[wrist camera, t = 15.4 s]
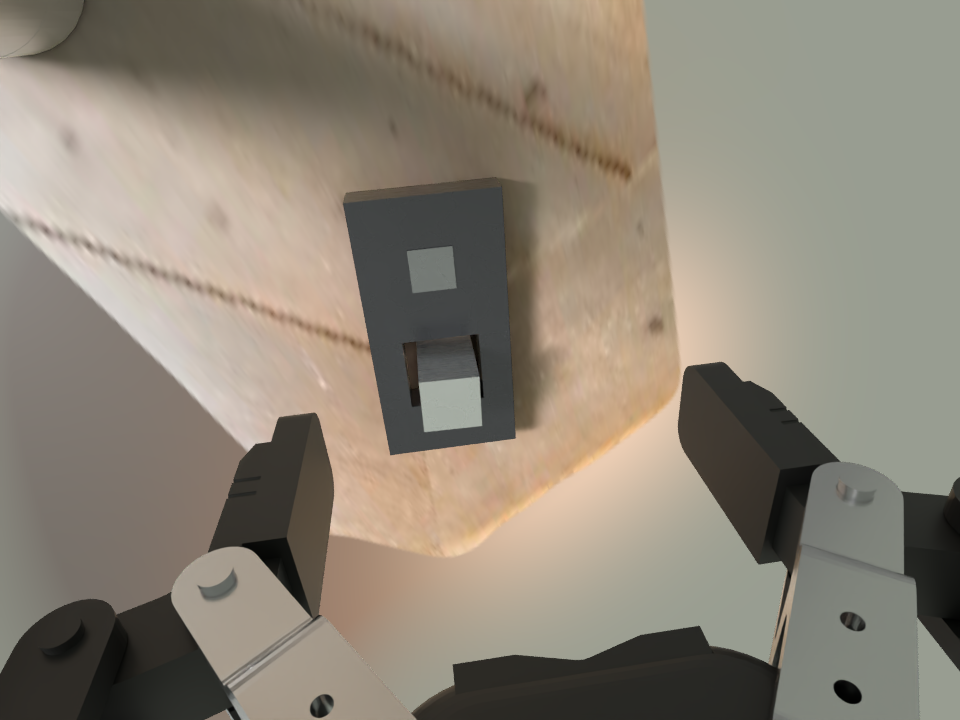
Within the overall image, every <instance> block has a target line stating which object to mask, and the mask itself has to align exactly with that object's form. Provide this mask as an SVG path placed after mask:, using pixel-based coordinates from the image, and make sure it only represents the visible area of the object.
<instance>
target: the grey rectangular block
mask: <svg viewBox="0 0 960 720" xmlns="http://www.w3.org/2000/svg"><path fill="white" fill-rule="evenodd" d="M416 346H417V363H418V380H419V390H420V399H421V407H422V416H423V425H424V432H431V431H440V430H449V429H459V428H468V427H477V426H482V414H481V396H480V377H479V372H478V368H477V364H476V359H475V355H474V350H473V346H472V342H471V337H470V335H466V336H457V337H449V338H441V339H433V340H424V341H416Z"/></svg>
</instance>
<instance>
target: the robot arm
mask: <svg viewBox="0 0 960 720" xmlns="http://www.w3.org/2000/svg"><path fill="white" fill-rule="evenodd" d="M83 4H84V0H0V58H8V57H16V56H25V55H34V54H38V53H41V52H44V51H47V50H50V49H52V48H54V47H55V46H56V45H58V44H59V43H61V42H62V41H64V40H65V39H66V38H67V37H68V35H69V34H70V33H71V32H72V31H73V29H74V28H75V27H76V24H77V22H78V20H79V18H80V15H81V13H82V10H83ZM678 433H679V439H680V443H681V445H682V448H683V450H684V452H685V453H686V455H687V456H688V458H689V460H690V461H691V462H692V464H693V466H694V467H695V469H696V470H697V472H698V473H699V475H700V476H701V478H702V479H703V481H704V482H705V484H706V485H707V487H708V488H709V490H710V492H711V493H712V495H713V496H714V498H715V499H716V501H717V502H718V504H719V505H720V507H721V508H722V510H723V511H724V512H725V514H726V516H727V517H728V519H729V520H730V522H731V523H732V525H733V526H734V528H735V529H736V531H737V532H738V534H739V536H740V537H741V539H742V540H743V542H744V543H745V545H746V546H747V548H748V549H749V551H750V552H751V554H752V555H753V557H754V558H755V560H756V561H757V563H758V564H765V563H772V562H778V561H782V562H783V564H784V565H785V566H786V568H787V572H786V576H785V580H784V584H783V590H782V595H781V601H780V605H779V611H778V616H777V621H776V626H775V631H774V637H773V642H772V647H771V653H770V657H769V662H768V663H766V662H764V661H762V660H759V659H757V658H755V657H752V656H750V655H747V654H744V653H741V652H737V651H734V650H731V649H726V648H721V647H714V646H709V644H708V642H707V640H706V638H705V636H704V634H703V632H702V630H701V628H700V626H696V627H689V628H683V629H677V630H671V631H664V632H657V633H651V634H645V635H640V636H637V637H635V638H633V639H630V640H628V641H626V642H624V643H622V644H619V645H617V646H615V647H612V648H610V649H608V650H606V651H604V652H601V653H599V654H597V655H594V656H592V657H590V658H587V659H585V660H568V659H557V658H545V657H534V656H522V655H511V656H504V657H499V658H492V659H486V660H479V661H473V662H466V663H460V664H453V672H454V682H455V685H454V686H451V687H449V688H447V689H445V690H443V691H441V692H439V693H438V694H436V695H434V696H433V697H431V698H429V699H428V700H427V701H425V702H424V703H423V704H421V705H420V706H419V707H418V708H416V709H415V710H414V711H413V712H412V713H410V711H409V710H408V709H407V708H406V707H405V706H404V705H403V704H402V703H401V701H400V700H399V699H398V698H397V697H396V696H395V695H394V694H393V692H392V691H391V690H390V689H389V688H388V687H387V686H386V685H385V683H384V682H383V681H382V680H381V679H380V678H379V677H378V676H377V675H376V673H375V672H374V671H373V670H372V669H371V668H370V667H369V666H368V664H366V662H365V661H364V660H363V659H362V658H361V657H360V655H359V654H358V653H357V652H356V651H355V650H354V649H353V648H352V646H351V645H350V644H349V643H348V642H347V641H346V640H345V639H344V638H343V636H342V635H341V634H340V633H339V632H338V631H337V630H336V629H335V628H334V626H333V625H332V624H331V623H330V622H329V621H328V620H327V619H326V618H325V617H323V616H321V615H319V607H320V599H321V592H322V584H323V576H324V568H325V561H326V553H327V545H328V538H329V531H330V523H331V515H332V508H333V500H334V482H333V474H332V469H331V465H330V461H329V457H328V453H327V449H326V445H325V441H324V437H323V433H322V429H321V425H320V421H319V418H318V416H317V414H316V413H308V414H300V415H292V416H284V417H279V419H278V421H277V424H276V427H275V431H274V434H273V438H272V441H271V442H267V443H260V444H255V445H254V446H253V448H252V449H251V450H250V451H249V452H248V453H247V454H246V455H245V456H244V457H243V459H242V460H241V461H240V462H239V465H238V468H237V471H236V474H235V477H234V483H232V485H231V488H230V491H229V494H228V499H226V502H225V505H224V508H223V511H222V514H221V517H220V519H219V522H218V525H217V528H216V531H215V534H214V536H213V539H212V542H211V545H210V548H209V551H208V553H207V554H205V555H203V556H201V557H200V558H198V559H196V560H195V561H193V562H192V563H191V564H190V565H189V566H187V567H186V568H185V569H184V570H183V571H182V573H181V574H180V575H179V577H178V578H177V580H176V582H175V583H174V586H173V588H172V592H170V593H168V594H167V595H165V596H162V597H160V598H158V599H155V600H153V601H150V602H148V603H146V604H143V605H140V606H138V607H135V608H132V609H130V610H127V611H125V612H123V613H120V614H117V615H116V613H115V612H114V610H113V608H112V607H111V605H109V604H108V603H107V602H105V601H102V600H97V599H87V600H80V601H76V602H73V603H70V604H67V605H64V606H62V607H60V608H58V609H56V610H54V611H52V612H51V613H49V614H47V615H46V616H44V617H43V618H42V619H40V620H39V621H38V622H36V623H35V624H34V625H33V626H32V627H31V628H30V629H29V630H28V631H27V632H26V633H25V634H24V635H23V636H22V637H21V639H20V640H19V641H18V643H17V645H16V646H15V648H14V649H13V651H12V653H11V655H10V657H9V659H8V660H7V663H6V664H5V666H4V668H3V670H2V672H1V673H0V720H205V719H207V718H209V717H211V716H213V715H215V714H218V713H220V712H222V711H224V710H226V711H227V713H228V715H229V717H230V718H231V720H920V714H919V713H920V711H919V672H918V636H917V635H918V634H917V617H918V619H919V620H920V621H921V623H922V624H923V625H924V626H925V628H926V629H927V630H928V631H929V633H930V634H931V635H932V636H933V638H934V639H935V640H936V641H937V643H938V644H939V645H940V647H942V649H943V650H944V652H945V653H946V654H947V655H948V657H949V658H950V659H951V660H952V662H953V663H954V664H955V666H956V667H957V668H958V669H959V671H960V478H958V479H957V480H956V481H955V482H954V484H953V487H952V489H951V492H950V494H949V496H943V495H932V494H921V493H910V492H902V491H901V490H900V489H899V488H898V486H897V485H896V484H895V483H894V482H893V481H892V480H890V479H889V478H888V477H886V476H885V475H883V474H882V473H880V472H878V471H875V470H874V469H871V468H869V467H866V466H863V465H859V464H855V463H848V462H840V461H839V460H838V459H837V458H836V457H835V456H834V455H833V454H832V453H831V452H830V451H829V450H828V449H827V448H826V447H825V446H824V445H823V444H822V443H821V442H820V441H819V440H818V439H817V438H816V437H815V436H814V435H813V434H812V433H811V432H810V431H809V430H808V429H807V428H806V427H805V426H804V425H803V424H802V423H801V422H800V423H799V422H798V418H796V416H795V415H793V414H792V412H790V411H789V410H788V411H787V410H786V406H784V405H783V403H782V402H781V401H780V400H779V399H778V398H777V397H776V396H775V395H774V394H773V393H771V392H770V391H768V390H766V389H764V388H762V387H760V386H758V385H756V384H755V383H753V382H751V381H746V382H743V381H742V380H741V379H740V378H739V377H738V376H737V375H736V374H735V373H734V372H733V371H732V370H731V369H730V368H729V367H728V365H726V364H725V363H723V362H717V363H709V364H701V365H693V366H688V367H687V368H686V369H685V372H684V375H683V384H682V392H681V402H680V410H679V420H678Z"/></svg>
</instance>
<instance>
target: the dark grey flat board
mask: <svg viewBox="0 0 960 720" xmlns="http://www.w3.org/2000/svg"><path fill="white" fill-rule="evenodd" d="M343 206H344V211H345V216H346V222H347V227H348V232H349V238H350V243H351V248H352V254H353V259H354V264H355V269H356V275H357V280H358V285H359V291H360V296H361V301H362V307H363V312H364V317H365V323H366V328H367V333H368V339H369V344H370V349H371V355H372V360H373V365H374V371H375V376H376V381H377V387H378V392H379V397H380V403H381V408H382V413H383V419H384V424H385V429H386V434H387V440H388V445H389V450H390V455H395V454H402V453H410V452H417V451H425V450H432V449H440V448H447V447H455V446H463V445H470V444H478V443H485V442H493V441H500V440H508V439H515V438H516V437H515V418H514V400H513V382H512V363H511V345H510V326H509V308H508V290H507V271H506V253H505V234H504V216H503V198H502V186H501V184H500V183H499V181H498V179H497V178H486V179H476V180H467V181H457V182H447V183H438V184H428V185H418V186H409V187H399V188H389V189H380V190H370V191H360V192H351V193H346V195H345V198H344V202H343ZM474 334H476V339H477V350H478V362H479V374H480V396H481V414H482V426H477V427H468V428H459V429H449V430H440V431H431V432H424V425H423V416H422V407H421V399H420V390H419V388H418V389H411V385H410V378H409V372H408V365H407V359H406V353H405V346H404V343H408V342H416V341H424V340H433V339H441V338H449V337H457V336H466V335H474Z"/></svg>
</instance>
